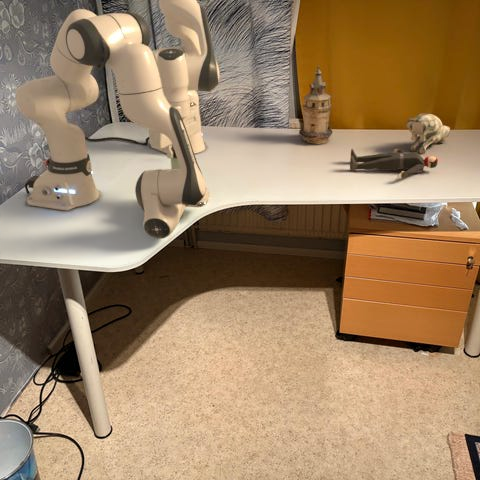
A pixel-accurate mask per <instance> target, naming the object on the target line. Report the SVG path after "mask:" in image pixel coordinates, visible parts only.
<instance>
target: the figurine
mask: <svg viewBox="0 0 480 480" xmlns="http://www.w3.org/2000/svg"><path fill="white" fill-rule="evenodd" d="M406 128H407V129H408V130H409V132H410V133H411V137H410V140H411V141H413V142H414V143H413V144H412V145H411V146H410V151H412V152H416V151H417V150H418V146H419V145H420V144H421V143H422V145H421V146H420V148H419V152H420V153H421V154H425V153H426V149H427V148H428V147H429V145H431V144H438V142H439V143H440V142H442V143H443V142H444V143H445V142H446V139H447V138H448V136H450V130H451V128H450V126H447V125H444V124H443V122H442V120H441V119H440V118H439V117H438V116H436V115H434V114H432V113H420V114H417V115H416V116H415V117H414V118H408V120H407V122H406Z"/></svg>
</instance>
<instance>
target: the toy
mask: <svg viewBox="0 0 480 480" xmlns="http://www.w3.org/2000/svg"><path fill="white" fill-rule="evenodd" d="M438 161H439V159H438V157H436V156H432V155H431V156H426V157H425V158H423V157H422V156H421V155H420V153H418V152H416V151H412V152H405V151H403V150H402V149H401V148H394V150H393V151H391V152H384V153H377V154H368V155H362V156H361V155H360V156H358V155H357V154H356V152H355V150H354V148H351V150H350V160H349V170H350V172H354V171H356V170H357V171H358V170H366V171H368V170H369V171H370V170H379V171H381V170H382V171H384V170H385V171H388V170H389V171H397V170H400V169H406V171H405V170H402V171H401V172H400V173H398V174H397V178H398V179H399V180H400V179H404V178H406V177H408V175H411V174H414V173H415V174H416V173H422V172H423V171H424V168H425V167H427V168H429V169H434V168H436V167H437V166H438V164H439V163H438Z"/></svg>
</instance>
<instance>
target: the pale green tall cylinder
mask: <svg viewBox="0 0 480 480" xmlns="http://www.w3.org/2000/svg"><path fill="white" fill-rule="evenodd" d="M170 167H171V168H170V169H179V168H180V165H179V162H178V159H177V158H171V159H170Z"/></svg>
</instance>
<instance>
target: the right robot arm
mask: <svg viewBox="0 0 480 480" xmlns="http://www.w3.org/2000/svg"><path fill="white" fill-rule="evenodd" d="M157 2H158V8H159V10H160V12H161V13H162V15H163V16H164V28H165V30H166V31H167V33H168V34H170V35H171V36H173V37H174V38H177V39H180V44H181V45H179V46H170V47H161V48H157V49H154V50H151V51H152V53H153V55H154V58H155V61H156V64H157V67H158V71H159V75H160V79H161V84H162V90H163V93H164V96H165V98H166V100H167V101H168V103H169V104H170V105H171V106H172V107H174V108H176V109H177V110H178V111H179V113H180V115H181V117H182V120H183V122H184V125H185V128H186V130H187V133H188V136H189V139H190V142H191V145H192V149H193V152H194V155H196V154H199V153H201V152H204V151H205V149H206V145H205V142H204V139H203V138H204V137H203V135H204V133H203V132H202V115H201V112H200V100H199V99H200V98H199V97H200V96H199V93H198V92H197V91H199V92H205V93H210V92H211V91H213V90H214V89H215V88H216V87H217V86H219V83H220V78H221V74H220V68H219V64H218V61H217V58H216V54H215V48H214V43H213V39H212V33H211V28H210V24H209V19H208V15H207V11H206V9H205V7H204V6H202V5H201V4H199V2H198V1H197V0H158V1H157ZM111 140H117V141H125V142H130V143H134V144H137V145H141V146H147V145H148V144H150V148H152V149H154V150H157V151H159V152H161V153H164V154H166V157H167V159H169V160H171V158H173V157H174V156H175V155H174V152H172V150H171V148H172V145H173V144H172V142H171V141H170V139H169V138H168V137H167V136H165V135H164V134H162V133H160V132H158V131H155V130H152V129H149V128H148V137H146V138H145V142H144V143H143V142H139V141H137V140H134V139H131V138H124V137H117V136H116V137H115V136H110V137H108V136H107V137H100V138H89V137H87V136H85V141H88V142H100V141H101V142H103V141H111Z"/></svg>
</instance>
